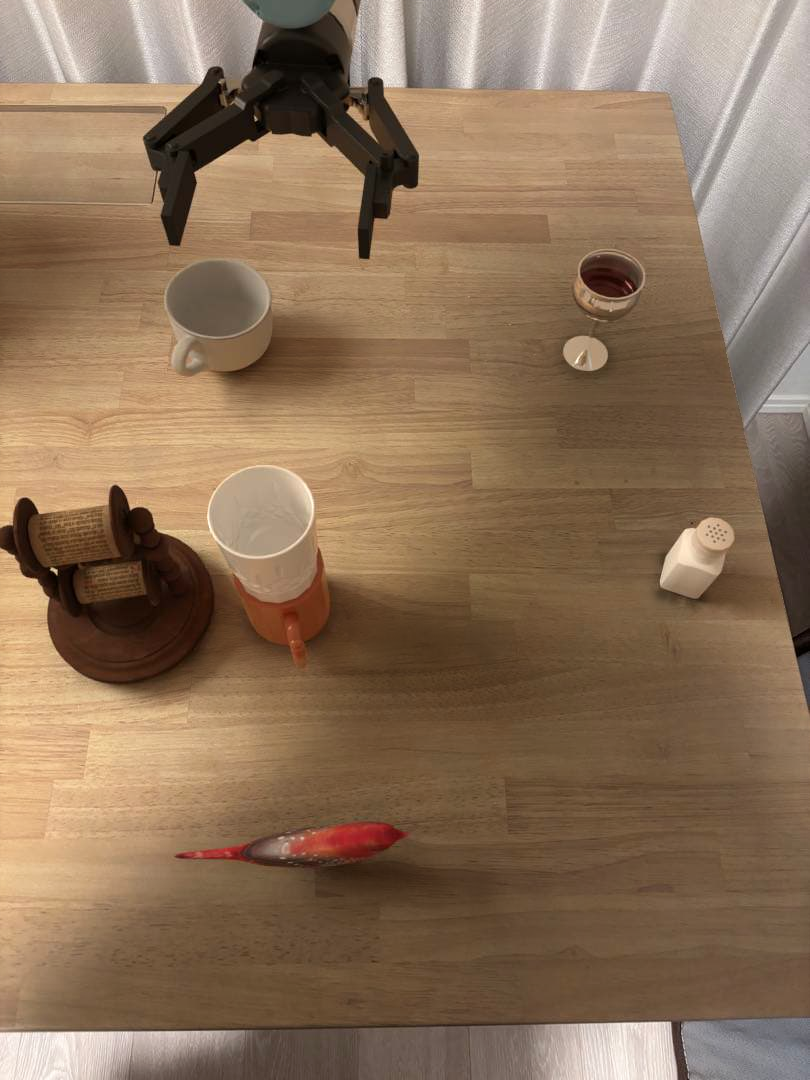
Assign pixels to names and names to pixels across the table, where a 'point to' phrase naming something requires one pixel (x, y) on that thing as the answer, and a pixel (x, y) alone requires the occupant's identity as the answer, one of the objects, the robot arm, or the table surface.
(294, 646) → the mug
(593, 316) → the wineglass
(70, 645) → the scroll
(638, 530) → the table surface
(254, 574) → the white cup
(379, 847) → the decorative bird figurine
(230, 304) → the teacup
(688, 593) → the salt shaker
